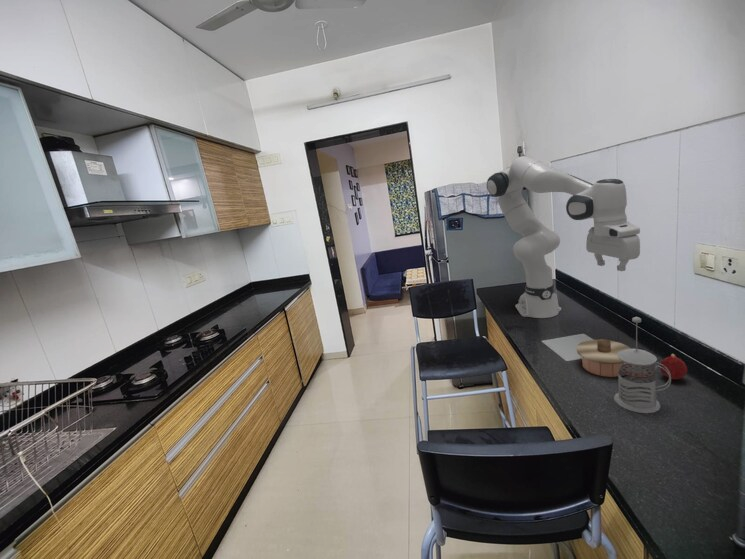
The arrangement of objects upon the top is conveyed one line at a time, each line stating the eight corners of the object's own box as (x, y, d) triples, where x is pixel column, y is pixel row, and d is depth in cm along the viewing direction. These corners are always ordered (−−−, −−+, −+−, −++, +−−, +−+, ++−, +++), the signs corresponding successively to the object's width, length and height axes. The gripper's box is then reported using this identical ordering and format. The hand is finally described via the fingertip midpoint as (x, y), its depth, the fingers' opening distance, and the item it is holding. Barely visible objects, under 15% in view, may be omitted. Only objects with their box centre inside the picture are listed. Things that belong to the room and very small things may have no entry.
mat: (541, 341, 126) (541, 340, 126) (583, 334, 126) (583, 333, 126) (566, 362, 110) (566, 361, 110) (615, 353, 109) (615, 352, 109)
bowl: (574, 361, 109) (573, 347, 108) (609, 355, 109) (609, 341, 107) (598, 380, 98) (598, 364, 96) (638, 373, 97) (638, 357, 96)
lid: (566, 346, 110) (566, 336, 109) (610, 338, 109) (610, 328, 108) (596, 367, 95) (596, 356, 94) (647, 359, 94) (647, 347, 93)
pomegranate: (692, 384, 88) (693, 358, 87) (668, 385, 90) (668, 360, 88) (677, 373, 94) (677, 349, 92) (654, 374, 95) (655, 350, 94)
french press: (614, 387, 93) (613, 309, 87) (668, 397, 86) (671, 311, 80) (612, 407, 86) (611, 322, 80) (671, 419, 78) (674, 327, 73)
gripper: (580, 228, 116) (582, 264, 119) (623, 232, 96) (624, 275, 99) (597, 224, 116) (598, 261, 119) (644, 228, 96) (644, 272, 99)
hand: (610, 267), depth 109 cm, fingers open, 8 cm apart
